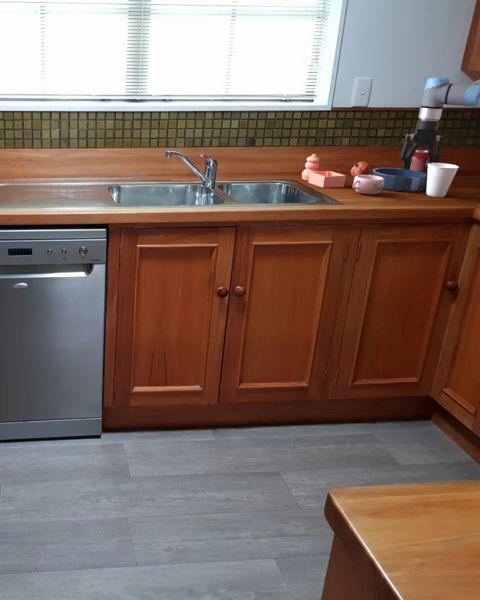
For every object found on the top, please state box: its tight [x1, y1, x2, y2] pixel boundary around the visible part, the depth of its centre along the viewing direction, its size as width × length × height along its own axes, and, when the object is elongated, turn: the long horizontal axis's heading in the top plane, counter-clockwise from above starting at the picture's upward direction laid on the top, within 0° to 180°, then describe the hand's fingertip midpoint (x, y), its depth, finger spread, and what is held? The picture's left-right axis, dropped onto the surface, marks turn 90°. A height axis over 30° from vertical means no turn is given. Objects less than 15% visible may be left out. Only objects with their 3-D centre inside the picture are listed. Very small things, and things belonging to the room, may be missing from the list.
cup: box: [425, 162, 460, 198], centre depth 220 cm, size 10×10×11 cm
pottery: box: [301, 153, 347, 189], centre depth 237 cm, size 18×10×10 cm, turn 16°
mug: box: [352, 174, 384, 196], centre depth 221 cm, size 12×10×6 cm
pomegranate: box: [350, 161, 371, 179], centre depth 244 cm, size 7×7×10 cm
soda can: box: [409, 149, 430, 173], centre depth 242 cm, size 7×7×12 cm
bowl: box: [371, 167, 428, 193], centre depth 233 cm, size 19×19×6 cm
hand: (414, 178), depth 244 cm, fingers closed on soda can, 7 cm apart
